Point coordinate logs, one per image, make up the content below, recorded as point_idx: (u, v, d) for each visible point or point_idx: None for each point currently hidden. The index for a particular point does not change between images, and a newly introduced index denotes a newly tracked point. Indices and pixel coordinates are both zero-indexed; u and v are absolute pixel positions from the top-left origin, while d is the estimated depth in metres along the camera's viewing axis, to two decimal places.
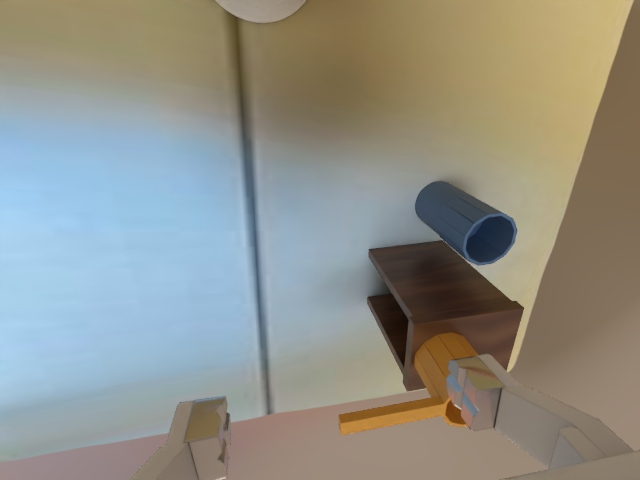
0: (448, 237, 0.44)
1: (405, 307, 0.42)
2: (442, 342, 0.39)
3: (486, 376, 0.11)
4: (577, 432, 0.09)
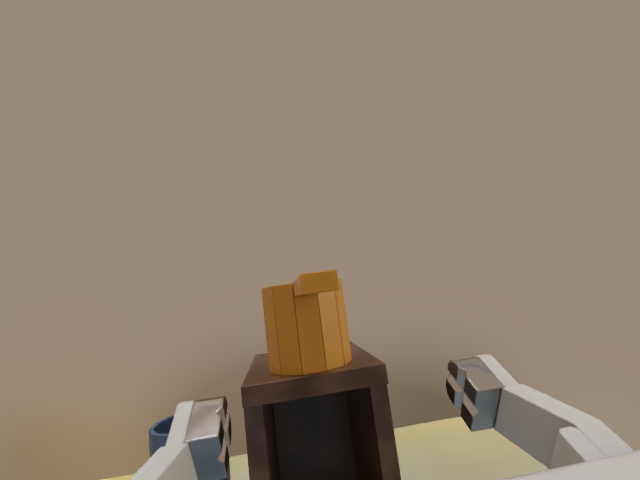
0: None
1: (250, 436, 0.24)
2: (269, 356, 0.28)
3: (486, 376, 0.11)
4: (576, 432, 0.09)
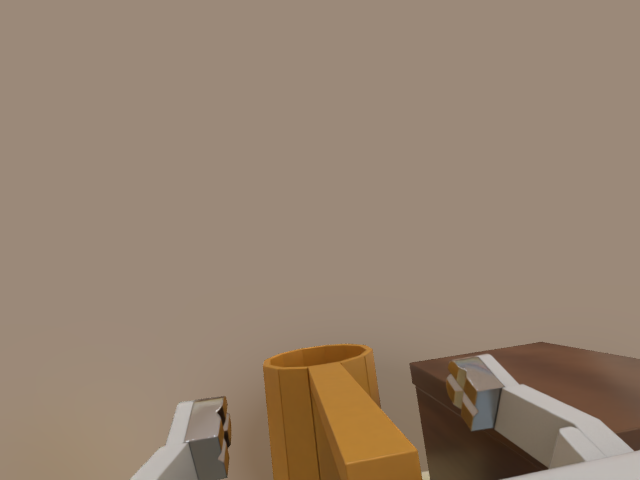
0: None
1: None
2: (274, 465, 0.20)
3: (486, 376, 0.11)
4: (576, 432, 0.09)
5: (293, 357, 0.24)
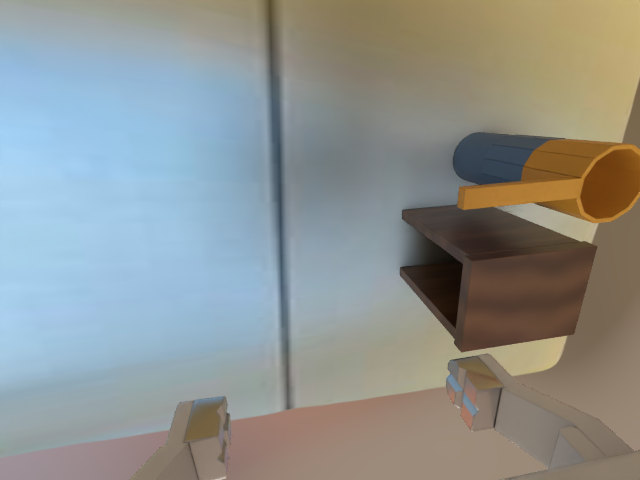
0: (499, 177, 0.39)
1: (456, 249, 0.36)
2: (559, 141, 0.34)
3: (486, 376, 0.11)
4: (577, 432, 0.09)
5: (639, 164, 0.30)
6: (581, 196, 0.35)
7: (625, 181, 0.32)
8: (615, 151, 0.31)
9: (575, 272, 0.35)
